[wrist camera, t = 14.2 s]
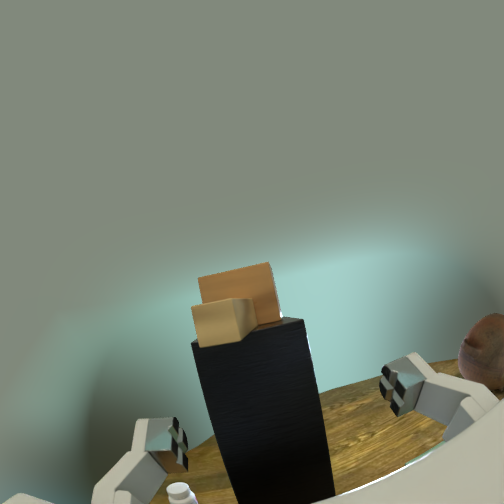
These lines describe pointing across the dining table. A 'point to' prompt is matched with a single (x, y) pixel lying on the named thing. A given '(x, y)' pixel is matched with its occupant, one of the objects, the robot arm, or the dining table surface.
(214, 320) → the mallet
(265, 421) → the stand
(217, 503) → the dining table surface
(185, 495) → the pill bottle
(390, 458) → the dining table surface
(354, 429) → the dining table surface
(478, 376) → the jug
